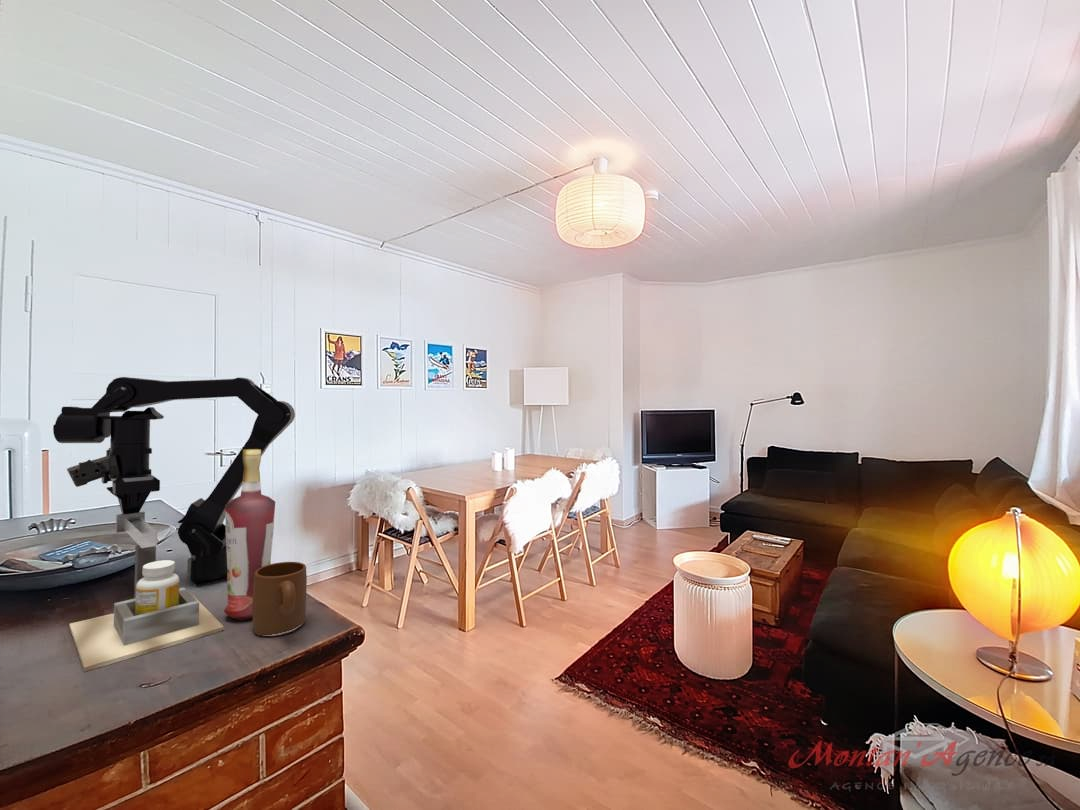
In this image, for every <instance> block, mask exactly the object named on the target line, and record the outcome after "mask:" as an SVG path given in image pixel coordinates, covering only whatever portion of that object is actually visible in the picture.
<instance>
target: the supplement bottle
mask: <svg viewBox="0 0 1080 810" xmlns="http://www.w3.org/2000/svg"><path fill="white" fill-rule="evenodd" d="M175 570H176V562H175V561H174V560H170V559H169V560H167V559H166V560H165V559H164V560H163V559H162V560H156V561H155V562H151V563H148V564H145V565H144V566H143V570H142V574H143V576H144V578H142V579H141V580H139V581H138V583H137V585H136V605H135V616H137V615H141V614H145V613H149V612H153V611H157V610H161V609H165V608H169V607H173V606H177V605H178V602H179V588H180V577H179V575H178V574H176V573H174V571H175Z"/></svg>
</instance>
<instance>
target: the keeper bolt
mask: <svg viewBox="0 0 1080 810" xmlns="http://www.w3.org/2000/svg"><path fill="white" fill-rule="evenodd" d="M145 515H146V512H145V511H144V510H143V511H140V512H135V513H127V514H122V513H120V514H119V513H118V514H116V519H115V520H116V521H115V523H116V524H115V533H116V534H117V533H124V532H126V534H127V535H128V536H129V537H131V539H132V540H133V541H134V542H135V543H136V544H137V545H139V546H140V547H141V548H146V547H152V546H156V547H157V546H158V531H157V530H156V529H155V528H154V527H153V526H152V525H150V523H148V522H147V521H146V520H145V517H146V516H145Z"/></svg>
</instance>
